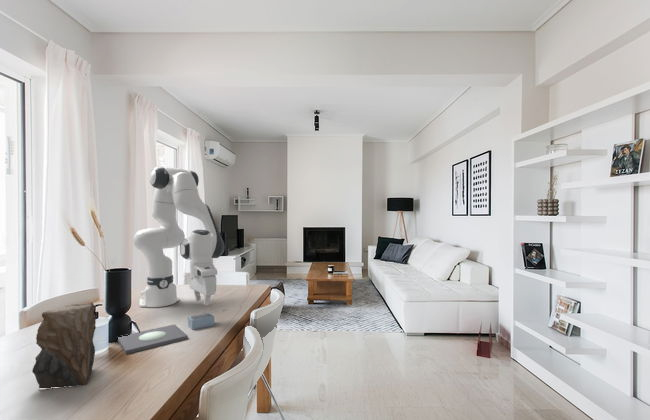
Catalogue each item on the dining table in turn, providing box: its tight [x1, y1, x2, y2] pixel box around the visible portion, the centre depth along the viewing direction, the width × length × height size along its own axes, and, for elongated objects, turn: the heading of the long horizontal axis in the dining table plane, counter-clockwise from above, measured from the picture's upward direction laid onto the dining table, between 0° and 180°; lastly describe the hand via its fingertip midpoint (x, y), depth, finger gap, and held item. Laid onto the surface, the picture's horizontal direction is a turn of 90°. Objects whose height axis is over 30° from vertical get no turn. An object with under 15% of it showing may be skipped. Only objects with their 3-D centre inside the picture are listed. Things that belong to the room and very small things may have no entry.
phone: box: [187, 312, 215, 330], centre depth 136 cm, size 5×9×4 cm, turn 130°
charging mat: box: [117, 324, 189, 355], centre depth 121 cm, size 16×20×1 cm
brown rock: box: [31, 302, 97, 389], centre depth 94 cm, size 13×13×20 cm
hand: (202, 302), depth 136 cm, fingers open, 8 cm apart
